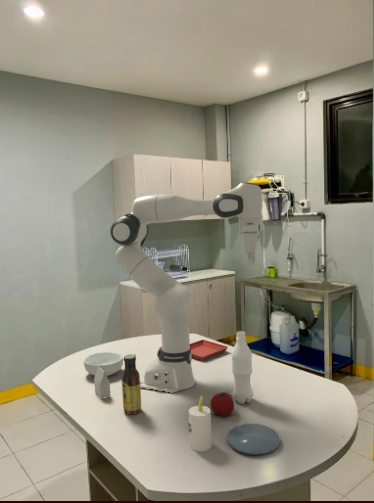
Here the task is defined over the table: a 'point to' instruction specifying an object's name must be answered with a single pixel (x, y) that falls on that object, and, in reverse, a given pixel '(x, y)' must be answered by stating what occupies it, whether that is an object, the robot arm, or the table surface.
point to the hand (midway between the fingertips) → (251, 263)
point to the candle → (200, 427)
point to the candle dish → (253, 439)
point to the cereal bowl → (103, 362)
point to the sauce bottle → (131, 386)
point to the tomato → (222, 404)
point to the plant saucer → (206, 349)
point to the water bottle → (242, 369)
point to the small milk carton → (101, 384)
